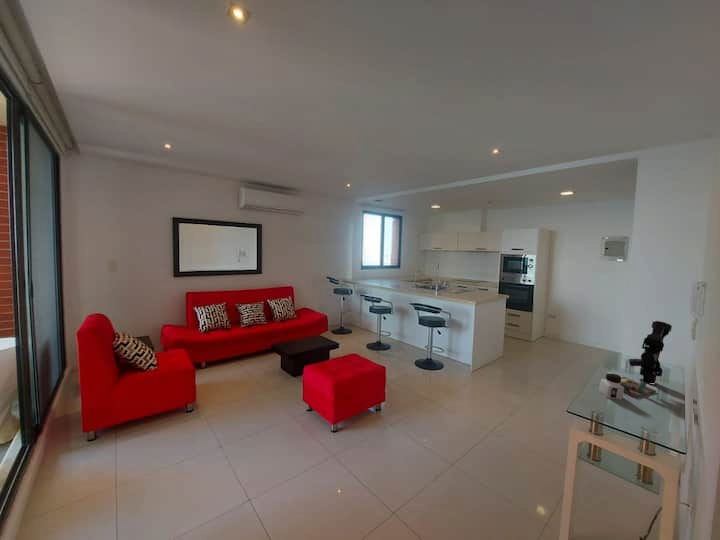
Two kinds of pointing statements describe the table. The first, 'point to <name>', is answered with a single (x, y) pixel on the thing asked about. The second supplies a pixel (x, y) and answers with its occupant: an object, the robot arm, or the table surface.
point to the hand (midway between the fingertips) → (644, 382)
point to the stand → (634, 392)
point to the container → (612, 386)
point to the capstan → (633, 385)
